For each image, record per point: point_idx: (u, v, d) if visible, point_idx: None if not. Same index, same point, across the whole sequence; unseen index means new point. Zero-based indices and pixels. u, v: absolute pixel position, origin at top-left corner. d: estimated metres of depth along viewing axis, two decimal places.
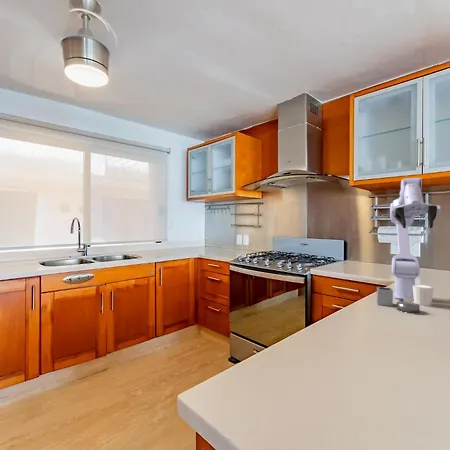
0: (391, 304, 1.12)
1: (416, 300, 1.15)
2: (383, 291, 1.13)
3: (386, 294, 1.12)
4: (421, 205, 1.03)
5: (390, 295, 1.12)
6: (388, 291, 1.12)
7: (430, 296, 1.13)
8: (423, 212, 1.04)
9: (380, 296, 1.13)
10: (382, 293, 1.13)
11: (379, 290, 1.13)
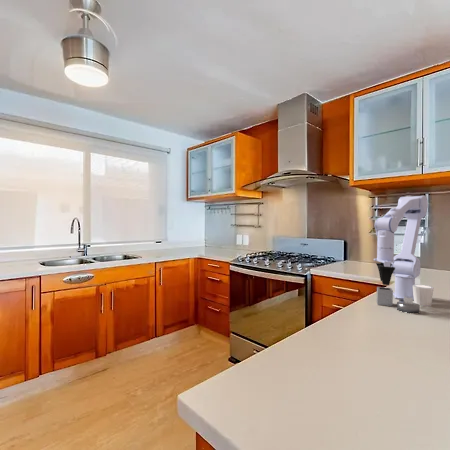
0: (391, 304, 1.12)
1: (416, 300, 1.15)
2: (383, 291, 1.13)
3: (386, 294, 1.12)
4: (380, 261, 1.14)
5: (390, 295, 1.12)
6: (388, 291, 1.12)
7: (430, 296, 1.13)
8: None
9: (380, 296, 1.13)
10: (382, 293, 1.13)
11: (379, 290, 1.13)
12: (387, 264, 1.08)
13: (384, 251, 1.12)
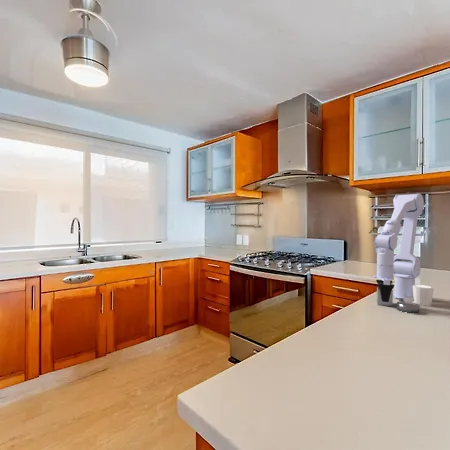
0: (391, 304, 1.12)
1: (416, 300, 1.15)
2: None
3: None
4: (380, 278, 1.14)
5: (390, 295, 1.12)
6: None
7: (430, 296, 1.13)
8: None
9: (380, 296, 1.13)
10: None
11: (379, 290, 1.13)
12: (387, 282, 1.08)
13: (384, 268, 1.12)
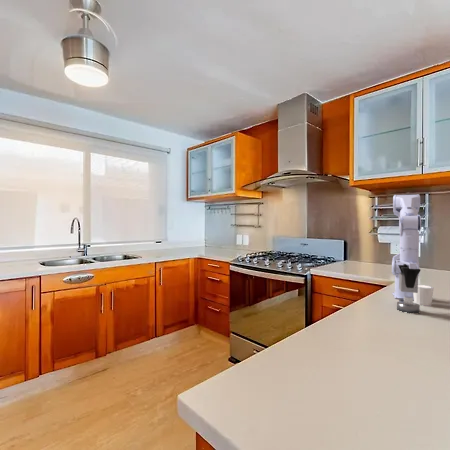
0: (416, 290, 1.03)
1: (416, 300, 1.15)
2: None
3: None
4: None
5: (415, 281, 1.03)
6: None
7: (430, 296, 1.13)
8: None
9: (404, 282, 1.05)
10: None
11: (403, 275, 1.05)
12: (413, 266, 1.00)
13: (408, 252, 1.04)
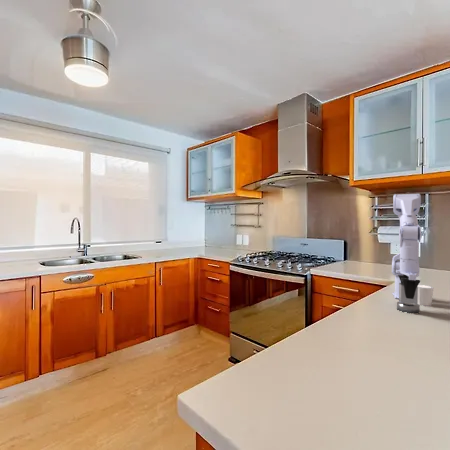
0: (416, 301, 1.03)
1: None
2: None
3: None
4: (404, 273, 1.06)
5: (415, 291, 1.04)
6: None
7: (430, 296, 1.13)
8: None
9: (404, 292, 1.05)
10: None
11: (403, 286, 1.05)
12: (412, 277, 1.00)
13: (408, 263, 1.04)
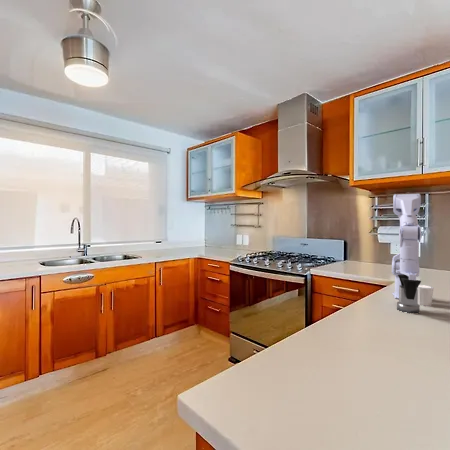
0: (416, 304, 1.03)
1: None
2: None
3: None
4: (404, 273, 1.06)
5: (415, 294, 1.04)
6: None
7: (430, 296, 1.13)
8: None
9: (404, 295, 1.05)
10: None
11: (403, 289, 1.05)
12: (412, 277, 1.00)
13: (408, 263, 1.04)
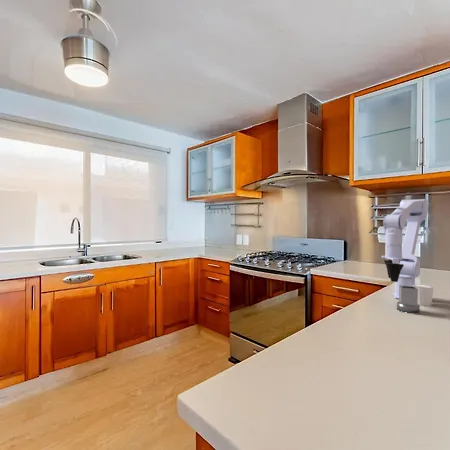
0: (416, 304, 1.03)
1: None
2: (407, 290, 1.04)
3: (410, 293, 1.04)
4: (388, 258, 1.14)
5: (415, 294, 1.04)
6: (413, 290, 1.04)
7: (430, 296, 1.13)
8: None
9: (404, 295, 1.05)
10: (406, 292, 1.05)
11: (403, 289, 1.05)
12: (396, 261, 1.09)
13: (392, 248, 1.13)
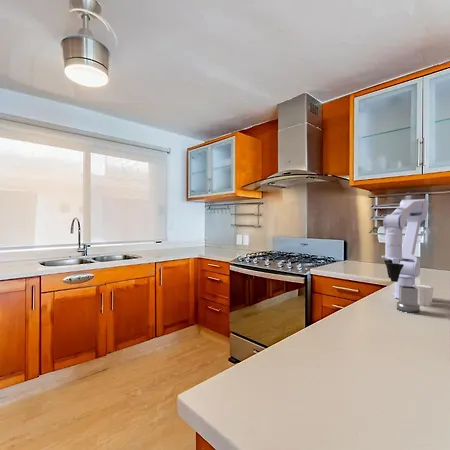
0: (416, 304, 1.03)
1: None
2: (407, 290, 1.04)
3: (410, 293, 1.04)
4: (388, 258, 1.14)
5: (415, 294, 1.04)
6: (413, 290, 1.04)
7: (430, 296, 1.13)
8: None
9: (404, 295, 1.05)
10: (406, 292, 1.05)
11: (403, 289, 1.05)
12: (396, 261, 1.09)
13: (392, 248, 1.13)
